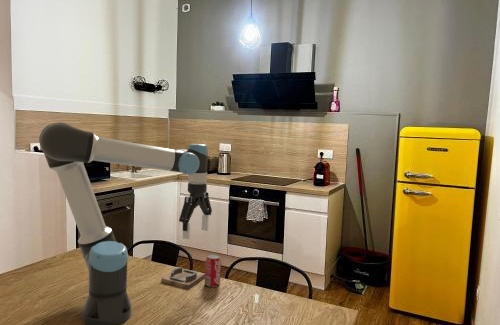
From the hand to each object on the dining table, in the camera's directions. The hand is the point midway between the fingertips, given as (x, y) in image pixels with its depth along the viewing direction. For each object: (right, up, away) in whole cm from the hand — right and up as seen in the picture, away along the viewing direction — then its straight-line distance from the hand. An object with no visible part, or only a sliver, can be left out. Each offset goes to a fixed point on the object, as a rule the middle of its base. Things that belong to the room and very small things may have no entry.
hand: (195, 234), depth 150 cm
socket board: (-6, -20, +4) cm, 21 cm away
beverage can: (+7, -21, +1) cm, 22 cm away
